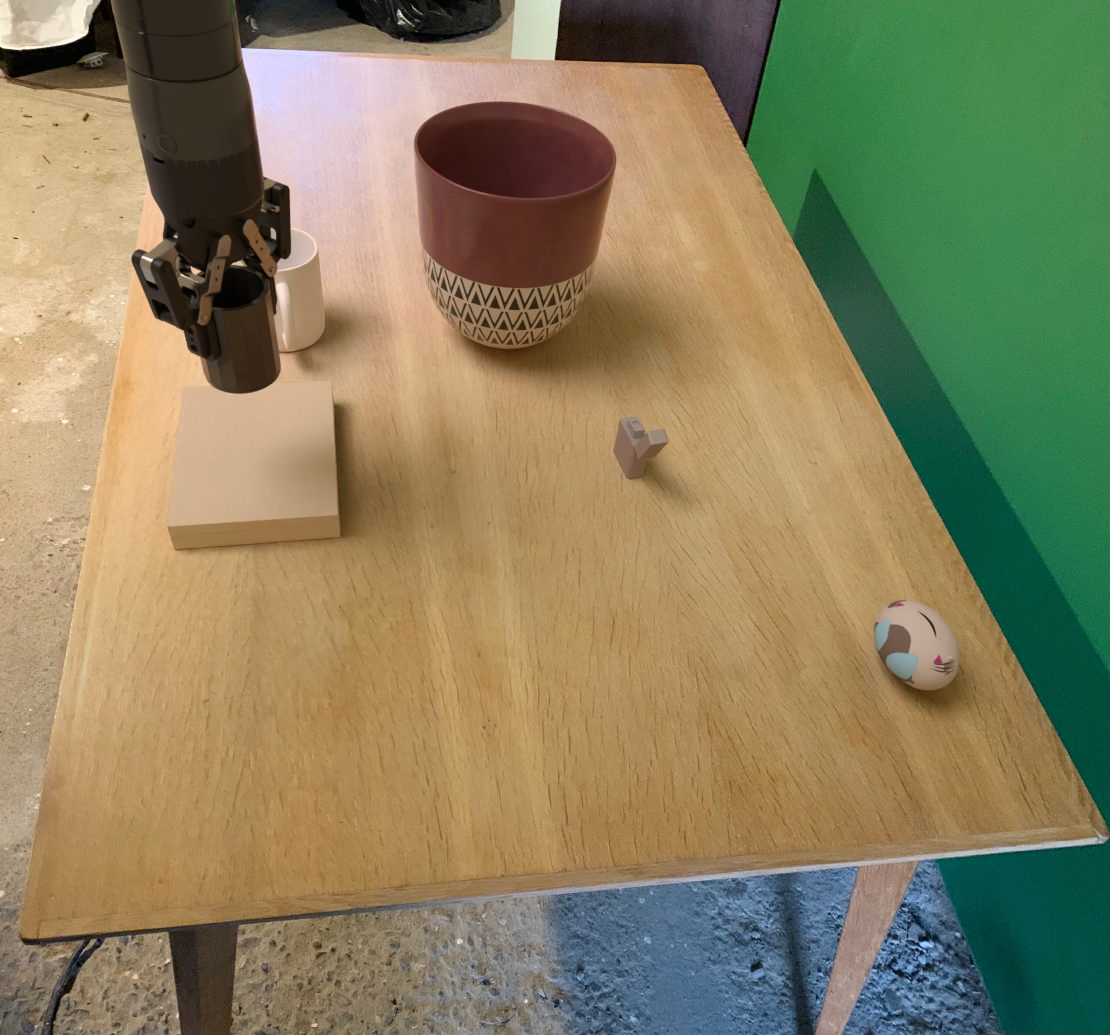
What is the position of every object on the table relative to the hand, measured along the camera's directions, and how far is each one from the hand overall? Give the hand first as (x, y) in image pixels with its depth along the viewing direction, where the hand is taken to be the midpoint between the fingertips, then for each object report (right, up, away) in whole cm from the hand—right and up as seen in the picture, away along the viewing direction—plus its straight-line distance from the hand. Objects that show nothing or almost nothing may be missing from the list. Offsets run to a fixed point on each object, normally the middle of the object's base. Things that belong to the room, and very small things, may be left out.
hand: (235, 333), depth 75 cm
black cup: (0, -2, +3) cm, 4 cm away
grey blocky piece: (+33, -10, +18) cm, 39 cm away
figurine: (+54, -27, +6) cm, 61 cm away
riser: (-2, -10, +14) cm, 17 cm away
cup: (-3, +4, +27) cm, 28 cm away
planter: (+19, +7, +32) cm, 38 cm away
